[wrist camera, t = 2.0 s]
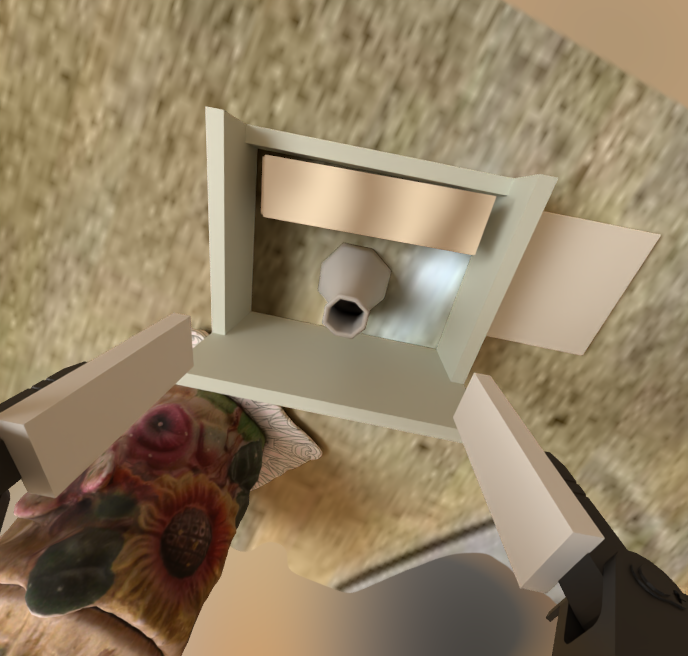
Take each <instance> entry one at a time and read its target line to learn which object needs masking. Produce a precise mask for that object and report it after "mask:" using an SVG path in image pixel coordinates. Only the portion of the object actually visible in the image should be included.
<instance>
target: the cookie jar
mask: <svg viewBox="0 0 688 656" xmlns="http://www.w3.org/2000/svg"><path fill="white" fill-rule="evenodd" d="M191 332H192V346H193V348H194V347H195V346H196V345H197V344H199V343H200V342H201V341H202V340H203V339H205V338H206V337H207V336H208V335H210V334H209V333H207V332H206V331H204V330H196V329H193V328H191ZM321 456H322V451H321V449H320V448H319V447H318V446H317V444H316V443H315V442H314V441H313V440H312V439H311V438H310V437H309V436H308V435H307V434H306V433H305V432H304V431H303V430H302V429H300V428H299V427H297V426H296V425H295V424H294V423H293V422H292V420H291V419H290V418H289V417H288V416H287V415H286V413H285V412H284V411H283V409H282V408H281V406H279V405H274V404H269V403H264V402H259V401H255V400H250V399H245V398H240V397H235V396H230V395H225V394H221V393H216V392H211V391H206V390H201V389H196V388H192V387H187V386H182V385H177V384H175V385H174V386H173V387H172V388H171V389H169V390H168V391H167V392H166V393H165V394H164V395H163V396H162V397H161V398H160V399H159V400H158V401H157V402H156V403H155V404H154V405H153V406H152V407H151V408H150V409H149V410H147V411H146V412H145V413H144V414H143V415H142V416H141V417H140V418H139V419H138V420H137V421H136V422H135V423H134V424H133V425H132V426H131V427H130V428H129V429H128V430H127V431H125V432H124V433H123V434H122V435H121V436H120V437H119V438H118V439H117V440H116V441H115V442H114V443H113V444H112V445H111V446H110V447H109V448H108V449H107V450H106V451H105V452H103V453H102V454H101V455H100V456H99V457H98V458H97V459H96V460H95V461H94V462H93V463H92V464H91V465H90V466H89V467H88V468H87V469H86V470H85V471H84V472H82V473H81V474H80V475H79V476H78V477H77V478H76V479H75V480H74V481H73V482H72V483H71V484H70V485H69V486H68V487H67V488H66V489H65V490H64V491H63V492H62V493H60V494H59V495H58V496H57V497H56V498H52V497H47V496H42V495H37V494H32V493H28V492H27V493H26V494H25V495H24V496H23V497H22V498H21V499H20V500H19V501H18V503H17V504H16V505H15V508H14V514H15V516H17V517H18V518H17V519H16V521H15V522H14V523H13V524H12V525H11V527H10V528H9V529H8V530H7V531H6V532H5V533H4V534H3V535H2V536H1V537H0V656H181V655H182V653H183V651H184V649H185V647H186V645H187V643H188V641H189V638H190V635H191V632H192V629H193V627H194V624H195V622H196V620H197V617H198V615H199V613H200V611H201V608H202V606H203V604H204V602H205V601H206V599H207V598H208V596H209V594H210V592H211V591H212V589H213V587H214V586H215V584H216V583H217V582H218V580H219V579H220V577H221V574H222V571H223V567H224V564H225V560H226V557H227V554H228V549H229V547H230V544H231V541H232V539H233V537H234V536H235V534H236V529H237V528H238V526H239V524H240V521H241V520H242V518H243V516H244V514H245V512H246V510H247V507H248V505H249V493H250V491H252V490H255V489H257V488H259V487H261V486H263V485H264V484H267V483H268V482H270V481H272V479H273V478H276V477H278V476H281V475H282V474H284V473H285V472H286V471H287V470H290V469H295V468H296V467H298V466H300V465H302V464H304V463H306V462H307V461H309V460H315V459H319V458H320V457H321Z"/></svg>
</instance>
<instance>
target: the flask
mask: <svg viewBox="0 0 688 656" xmlns="http://www.w3.org/2000/svg"><path fill="white" fill-rule="evenodd" d="M390 275H391V270H390V269H389V268H388V267H387V265H386V264H385V263H384V262H383V261H382V259H381V258H380V257H379V256H378V255H377V254H376V252H375V251H374V250H373V249H371V248H366V247H361V246H356V245H351V244H347V243H342V244H341V245H340V246H339V247H338V248H337V249H336V250H335V251H334V252H333V253H332V254H331V255H330V256H329V257H328V258H326V259H325V260H324V261H323V262H322V265H321V272H320V279H319V285H318V291H319V293H320V294H321V295H322V296H323V297H324V298H325V299H326V301H327V302H328V303H327V304H326V305H325V309H324V315H323V321H322V323H323V324H324V325H325V326H326V327H327V328H328V329H329V330H330V331H331V332H332V333H333V334H334V335H335V336H340V337H344V338H349V339H353V338H354V337H355V336H357V335H358V334H359V333H361V332H362V331H363V330H364V329H366V325H367V321H368V317H369V312H370V310H371V309H372V308H373V307H374V306H376V305H377V304H378V303H379V302H381V301H382V300H383V299H384V298H385V294H386V290H387V286H388V282H389V279H390Z"/></svg>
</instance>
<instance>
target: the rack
mask: <svg viewBox="0 0 688 656" xmlns="http://www.w3.org/2000/svg"><path fill="white" fill-rule="evenodd" d="M205 108H206V142H207V177H208V212H209V246H210V281H211V315H212V333H211V334H210V335H208V336H207V337H206V338H205V339H203V340H202V341H201V342H200V343H199V344H197V345H196V346H195V347H194V348H193V361H194V367H193V368H192V369H190V370H189V371H188V372H187V373H186V374H185V375H184V376H183V377H182V378H181V379H180V380H179V381H178V382H177V383H176V384H177V385H182V386H187V387H192V388H196V389H201V390H206V391H211V392H216V393H221V394H225V395H230V396H235V397H240V398H245V399H250V400H255V401H259V402H264V403H269V404H274V405H279V406H284V407H289V408H293V409H298V410H303V411H308V412H313V413H318V414H322V415H327V416H332V417H337V418H342V419H347V420H352V421H356V422H361V423H366V424H371V425H376V426H381V427H386V428H390V429H395V430H400V431H405V432H410V433H415V434H419V435H424V436H429V437H434V438H439V439H444V440H449V441H453V442H458V443H463V442H462V439H461V437H460V434H459V432H458V429H457V427H456V424H455V422H454V419H453V416H454V414H455V412H456V410H457V408H458V406H459V404H460V401H461V399H462V397H463V395H464V393H465V391H466V388H465V386H464V383H465V380H466V378H467V376H468V374H469V372H470V369H471V367H472V365H473V363H474V361H475V359H476V356H477V354H478V352H479V350H480V348H481V345H482V343H483V341H484V339H485V337H486V335H487V332H488V330H489V328H490V326H491V324H492V322H493V319H494V317H495V315H496V313H497V311H498V308H499V306H500V304H501V302H502V300H503V298H504V295H505V293H506V291H507V289H508V287H509V284H510V282H511V280H512V278H513V276H514V274H515V271H516V269H517V267H518V265H519V263H520V260H521V258H522V256H523V254H524V252H525V250H526V247H527V245H528V243H529V241H530V239H531V236H532V234H533V232H534V230H535V228H536V226H537V223H538V221H539V219H540V217H541V215H542V212H543V210H544V208H545V206H546V204H547V202H548V199H549V197H550V195H551V193H552V191H553V189H554V186H555V184H556V182H557V180H558V178H557V177H552V176H547V175H542V174H537V175H531V176H525V177H519V178H510V177H505V176H500V175H495V174H490V173H485V172H480V171H475V170H470V169H465V168H460V167H456V166H451V165H446V164H441V163H436V162H431V161H426V160H421V159H416V158H411V157H406V156H401V155H396V154H391V153H386V152H381V151H376V150H372V149H367V148H362V147H357V146H352V145H347V144H342V143H337V142H332V141H327V140H322V139H317V138H312V137H307V136H302V135H297V134H292V133H288V132H283V131H278V130H273V129H268V128H263V127H258V126H253V125H248V124H245V123H243V122H242V121H240V120H239V119H237V118H236V117H234V116H232V115H231V114H229V113H228V112H226V111H224V110H221V109H216V108H211V107H206V106H205ZM258 149H263V150H268V151H273V152H278V153H283V154H288V155H293V156H298V157H303V158H308V159H313V160H317V161H322V162H327V163H332V164H337V165H342V166H347V167H352V168H357V169H362V170H367V171H372V172H377V173H382V174H387V175H391V176H396V177H401V178H406V179H411V180H416V181H421V182H426V183H431V184H436V185H441V186H446V187H451V188H456V189H461V190H466V191H470V192H476V193H481V194H487V195H492V196H496V199H495V202H494V204H493V207H492V210H491V213H490V215H489V218H488V221H487V224H486V226H485V229H484V232H483V235H482V237H481V240H480V243H479V246H478V248H477V251H476V254H475V255H472V256H471V259H470V261H469V264H468V267H467V269H466V272H465V275H464V277H463V280H462V283H461V285H460V288H459V290H458V293H457V296H456V298H455V301H454V304H453V306H452V309H451V312H450V314H449V317H448V319H447V322H446V325H445V327H444V330H443V333H442V335H441V338H440V341H439V343H438V346H437V348H436V349H433V348H428V347H423V346H418V345H413V344H409V343H404V342H399V341H394V340H389V339H384V338H379V337H374V336H370V335H365V334H360V333H359V334H358V335H357V336H355V337H354V338H353V339H349V338H344V337H340V336H335V335H334V334H333V333H332V332H331V331H330V330H329V329H328V328H327V327H326V326H321V325H316V324H311V323H306V322H301V321H296V320H291V319H287V318H282V317H277V316H272V315H267V314H262V313H257V312H252V311H251V305H252V279H253V254H254V228H255V203H256V177H257V151H258Z"/></svg>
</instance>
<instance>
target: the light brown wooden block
mask: <svg viewBox="0 0 688 656" xmlns="http://www.w3.org/2000/svg"><path fill="white" fill-rule="evenodd" d="M495 199H496V196H492V195H487V194H481V193H476V192H470V191H465V190H459V189H454V188H448V187H443V186H437V185H431V184H426V183H420V182H415V181H409V180H404V179H398V178H393V177H387V176H382V175H376V174H370V173H365V172H359V171H354V170H348V169H343V168H337V167H332V166H326V165H320V164H315V163H309V162H304V161H298V160H293V159H287V158H282V157H276V156H271V155H265V157H263V161H262V195H261V214H263V217H267V218H273V219H278V220H284V221H289V222H295V223H300V224H306V225H311V226H316V227H322V228H327V229H333V230H338V231H344V232H349V233H355V234H360V235H366V236H371V237H377V238H382V239H388V240H393V241H399V242H404V243H409V244H415V245H420V246H426V247H431V248H437V249H442V250H448V251H453V252H459V253H464V254H470V255H475V254H476V251H477V248H478V246H479V243H480V240H481V237H482V235H483V232H484V229H485V226H486V224H487V221H488V218H489V215H490V213H491V210H492V207H493V204H494V202H495Z"/></svg>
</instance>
